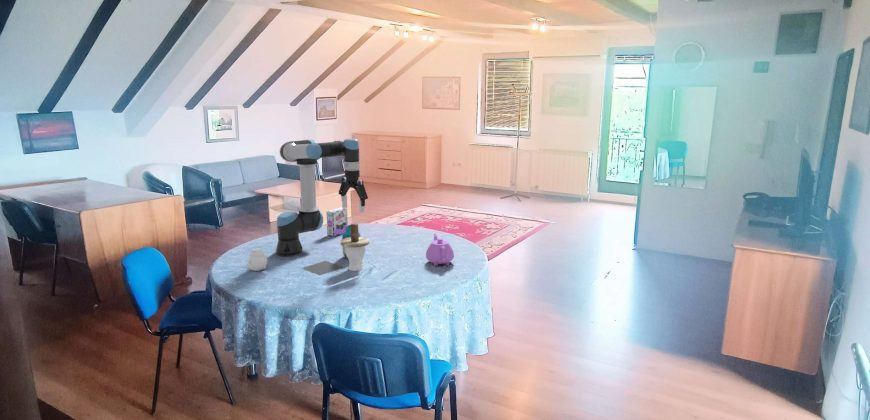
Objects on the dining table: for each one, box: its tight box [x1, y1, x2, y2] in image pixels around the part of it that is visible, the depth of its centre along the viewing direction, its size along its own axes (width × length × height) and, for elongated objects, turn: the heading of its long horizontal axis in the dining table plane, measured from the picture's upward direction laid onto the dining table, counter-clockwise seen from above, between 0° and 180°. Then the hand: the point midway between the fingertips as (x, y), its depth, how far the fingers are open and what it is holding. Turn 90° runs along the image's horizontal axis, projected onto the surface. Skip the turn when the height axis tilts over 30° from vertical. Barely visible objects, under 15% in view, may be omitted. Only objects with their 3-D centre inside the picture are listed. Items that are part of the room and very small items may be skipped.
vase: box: [341, 224, 362, 260], centre depth 300 cm, size 11×11×19 cm
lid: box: [340, 222, 370, 247], centre depth 279 cm, size 15×15×10 cm
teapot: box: [425, 233, 455, 267], centre depth 295 cm, size 22×16×14 cm
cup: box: [345, 246, 366, 272], centre depth 282 cm, size 11×11×15 cm
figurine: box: [246, 246, 268, 272], centre depth 282 cm, size 10×10×12 cm
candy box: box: [326, 207, 349, 237], centre depth 349 cm, size 14×6×16 cm, turn 147°
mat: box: [301, 260, 345, 276], centre depth 284 cm, size 16×16×1 cm
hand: (353, 210), depth 276 cm, fingers open, 13 cm apart
